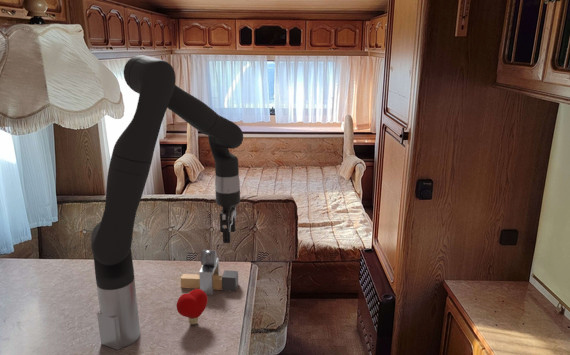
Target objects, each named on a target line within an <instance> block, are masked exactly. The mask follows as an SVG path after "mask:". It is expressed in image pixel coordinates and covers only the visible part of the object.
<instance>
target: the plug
mask: <svg viewBox="0 0 570 355" xmlns="http://www.w3.org/2000/svg"><path fill="white" fill-rule="evenodd" d="M179 280H180V287H181V288H182V289H183V288H184V289H200V277H199V274H195V273H194V274H193V273H191V274H190V273H183V274H182V275H181V277H180V279H179ZM238 286H239V271H238V270H226V269H225V270H224V271H223V274H222V275H220V274H219V275H213V290H221V292H237V289H238Z"/></svg>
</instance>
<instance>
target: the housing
mask: <svg viewBox="0 0 570 355" xmlns="http://www.w3.org/2000/svg"><path fill="white" fill-rule="evenodd" d="M200 255H201V256H200V264H201V268H200V269H199V272H198V275H199V277H200V288H199V289H201V290H203V291H204V292H205V293H206V294H207V296H209V295H210V296H211V295H214V290H215V289H213V275H219V276H220V259H219V257H218V255H217V250H216V249H202V251H201V254H200Z"/></svg>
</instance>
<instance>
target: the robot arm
mask: <svg viewBox="0 0 570 355" xmlns="http://www.w3.org/2000/svg"><path fill="white" fill-rule="evenodd" d="M123 78H124V82H125V83H126V85H127V86H128V87H129V89H131V90H132V91H133V92H135V93H137V94H138V100H137V105H136V108H135V113H134V115H133V116H132V119H131V120H130V123H128V125H127V126H126V128H125V129H124V131H123V132H122V133H121V134H120V136H119V137H118V138H117V140H116V141H115V144H114V145H113V149H112V153H111V157H110V162H109V166H108V171H107V178H106V187H105V190H106V191H105V204H104V209H103V210H104V211H103V212H102V216H101V220H100V222H98V223H97V224H96V225H95V226H94V228H93V229H92V232H91V236H90V248H91V252H92V254H93V256H92V257H93V264H94V275H95V281H96V282H95V283H96V287H97V288H96V291H97V297H98V305H99V311H97V313H96V316H97V322H98V329H99V330H98V332H99V339H100V344H101V345H103V346H107V347H108V348H109V347H110V348H112V349H114V350H117V351H119V350H120V349H122V348H125V347H129V346H130V345H132V344H134V343H136V342H137V340H138V339H139V338H140V336H141V330H140V329H141V328H140V320H139V319H140V318H139V310H138V309H139V308H138V300H137V289H136V280H135V270H134V262H133V255H132V254H133V253H132V242H133V233H134V228H135V227H134V226H135V220H136V215H137V211H138V208H139V205H140V204H141V203H140V202H141V200H142V196H143V194H144V190H145V188H146V184H147V181H148V177H149V173H150V171H151V166H152V163H153V157H154V153H155V149H156V145H157V142H158V137H159V134H160V131H161V128H162V123H163V120H164V117H165V114H166V112H167V109H168V110H170V111H171V112H173V113H174V114H176V115H177V116H178V117H179V118H181V119H182V120H183V121H184V122H186V123H187V124H189V125H190V126H192V127H193V128H194V129H195V130H196V131H198V132H200V133H201V134H203V135H205V136H207V137H208V138H207V139H208V144H209V147H210V150H211V151H210V152H211V154H212V157H213V160H214V166H215V168H214V169H215V172H214V173H215V178H214V189H215V190H214V191H215V203H216V205H217V206H219V207H220V206H221V208H222V209H221V210H220V214H219V228H220V229H219V231H220V233H222V243H223V244H230V243H231V233H235V232H236V220H237V216H238V214H237V205H239V204H240V203H241V185H240V184H241V182H240V181H241V180H240V176H239V175H240V174H239V173H240V172H239V169H240V168H239V158H238V156H237V155H235V154H233V153H232V152H230V149H231V150H232V149H237V148H239V147H240V146H241V145H242V143H243V142H244V133H243V131H242V129H241V127H240V126H239V125H238V124H236V123H235V122H233V121H231V120H230V119H227V118H226V117H223V116H221V115H220V114H218V113H217V112H216V111H215V110H214V109H213V108H211V107H210V106H209V105H207V104H206V103H205V102H203V101H202V100H201V99H199V98H197V97H196V96H194V95H193V94H191V93H189V92H187V91H185V90H184V89H182V88H180V86H178V85H177V84H176V80H177V79H176V72H175V70H174V67H173V66H172V65H171V63H169V62H168V61H166V60H163V59H162V58H161V59H160V58H157V57H153V56H150V55H145V54H144V55H143V54H142V55H141V54H140V55H136V56H132V57H131V58H130V59H128V60H127V61H126V63H125V64H124V67H123ZM225 226H226V227H225Z"/></svg>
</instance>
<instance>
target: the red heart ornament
mask: <svg viewBox="0 0 570 355" xmlns="http://www.w3.org/2000/svg"><path fill="white" fill-rule="evenodd" d="M208 300H209V297H208V295H207V294H206V293H205V292H204V291H203V290H201V289H200V288H193V290H191V291H189V292H188V293H183V294H181V295H180V296H179V297H178V299H177V302H176V305H175V306H176V307H175V308H176V311H177V312H178V313H179V314H180V315H181V316H183V317H186V318H187V319H188V324H190V325H192V326H193V325H196V324H197V323H198V322H199V317H201V315H202V314H203V313H204V311H205V310H206V308H207V306H208Z"/></svg>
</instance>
